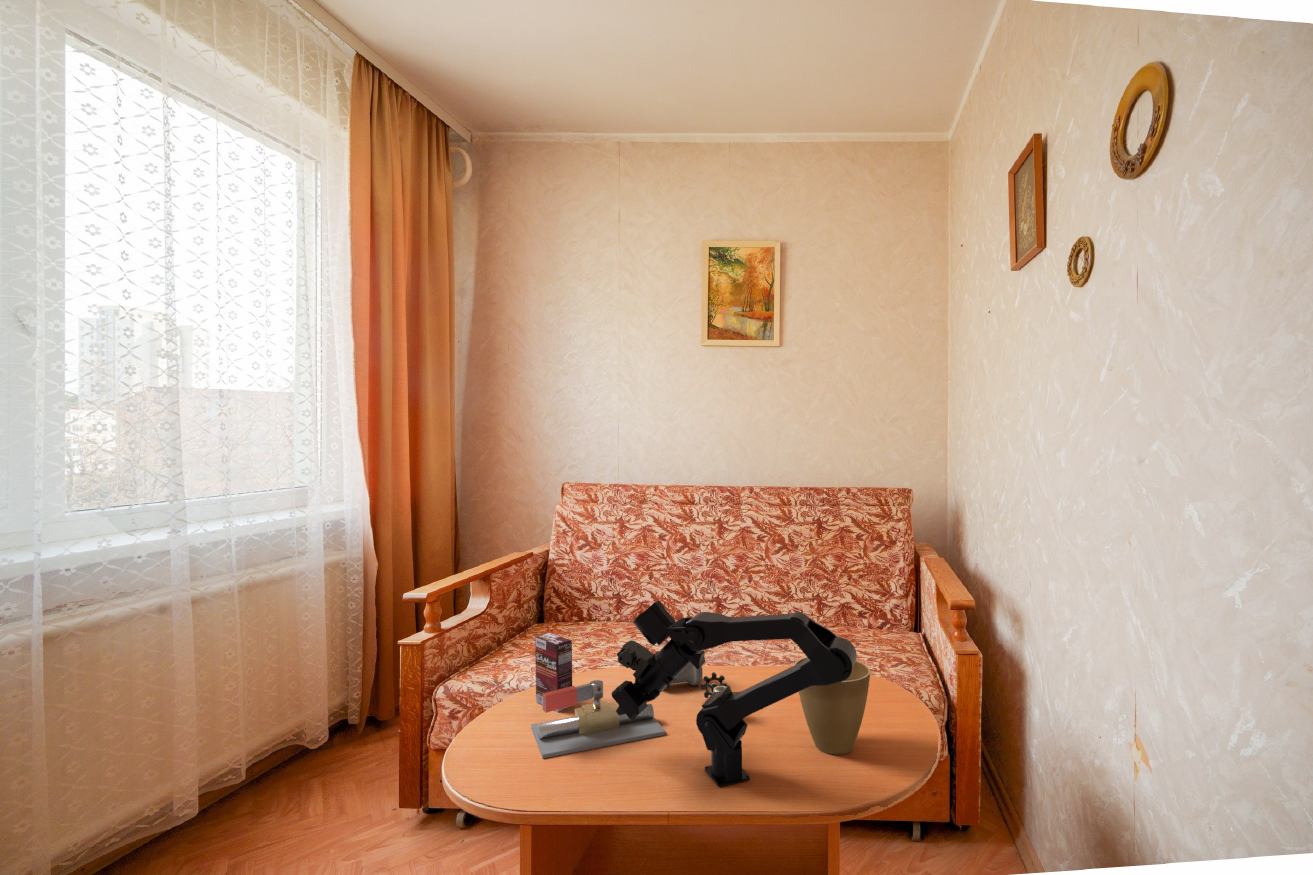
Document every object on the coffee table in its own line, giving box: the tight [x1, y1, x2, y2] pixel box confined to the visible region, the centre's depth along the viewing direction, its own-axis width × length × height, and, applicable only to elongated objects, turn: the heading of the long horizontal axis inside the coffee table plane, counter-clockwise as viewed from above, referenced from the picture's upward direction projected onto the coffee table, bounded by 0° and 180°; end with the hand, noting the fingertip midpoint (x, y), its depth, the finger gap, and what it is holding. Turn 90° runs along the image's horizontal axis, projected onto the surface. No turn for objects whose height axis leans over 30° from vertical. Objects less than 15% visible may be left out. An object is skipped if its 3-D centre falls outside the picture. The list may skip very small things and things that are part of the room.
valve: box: [699, 672, 728, 699], centre depth 144 cm, size 7×7×12 cm
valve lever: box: [542, 679, 604, 713], centre depth 132 cm, size 13×3×3 cm, turn 122°
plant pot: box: [793, 656, 871, 755], centre depth 127 cm, size 15×15×16 cm
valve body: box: [537, 699, 655, 739], centre depth 134 cm, size 25×4×6 cm, turn 110°
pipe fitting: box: [671, 663, 704, 686], centre depth 158 cm, size 12×8×10 cm
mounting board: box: [530, 716, 666, 759], centre depth 134 cm, size 26×14×1 cm, turn 110°
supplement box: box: [534, 632, 573, 713], centre depth 148 cm, size 9×5×16 cm, turn 48°
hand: (620, 710), depth 126 cm, fingers closed
